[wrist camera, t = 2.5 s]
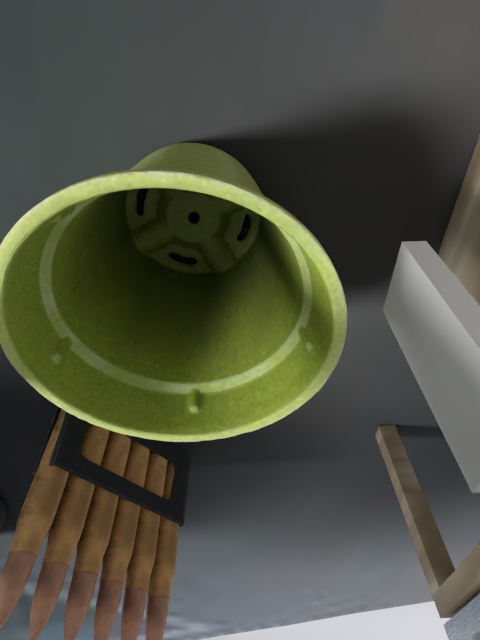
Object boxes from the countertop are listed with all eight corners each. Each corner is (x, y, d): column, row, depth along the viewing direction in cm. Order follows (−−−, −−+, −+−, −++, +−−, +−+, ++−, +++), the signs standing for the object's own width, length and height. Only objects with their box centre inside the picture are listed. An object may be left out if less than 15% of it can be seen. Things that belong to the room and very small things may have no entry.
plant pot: (262, 314, 21) (281, 458, 14) (83, 279, 19) (6, 425, 12) (332, 135, 15) (418, 233, 9) (87, 61, 13) (-50, 111, 7)
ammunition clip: (191, 457, 30) (176, 663, 20) (174, 466, 30) (152, 669, 21) (76, 387, 24) (-16, 624, 15) (58, 399, 25) (-42, 633, 15)
